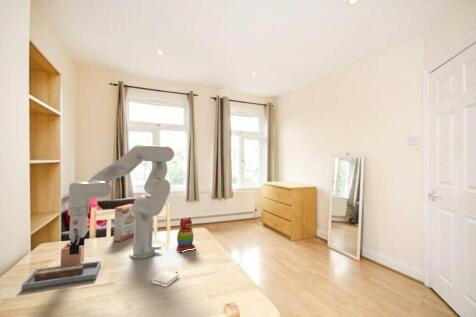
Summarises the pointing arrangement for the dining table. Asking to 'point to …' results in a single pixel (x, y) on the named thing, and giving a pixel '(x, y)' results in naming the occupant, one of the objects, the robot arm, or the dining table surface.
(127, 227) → the cracker box
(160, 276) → the perfume bottle
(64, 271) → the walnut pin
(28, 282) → the grey tray
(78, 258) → the square clay planter
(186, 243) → the stacking bear
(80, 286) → the dining table surface
